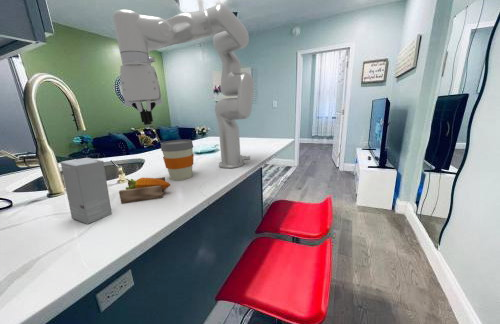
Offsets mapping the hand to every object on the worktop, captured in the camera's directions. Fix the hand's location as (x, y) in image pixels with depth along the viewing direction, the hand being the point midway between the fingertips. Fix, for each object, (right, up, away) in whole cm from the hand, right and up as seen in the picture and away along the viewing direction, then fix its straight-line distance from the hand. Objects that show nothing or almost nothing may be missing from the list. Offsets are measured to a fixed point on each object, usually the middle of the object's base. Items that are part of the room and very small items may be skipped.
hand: (148, 124), depth 66 cm
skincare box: (-11, -27, -8) cm, 30 cm away
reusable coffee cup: (+3, -19, +22) cm, 29 cm away
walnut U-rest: (-3, -23, +5) cm, 24 cm away
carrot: (+6, -20, +4) cm, 21 cm away
